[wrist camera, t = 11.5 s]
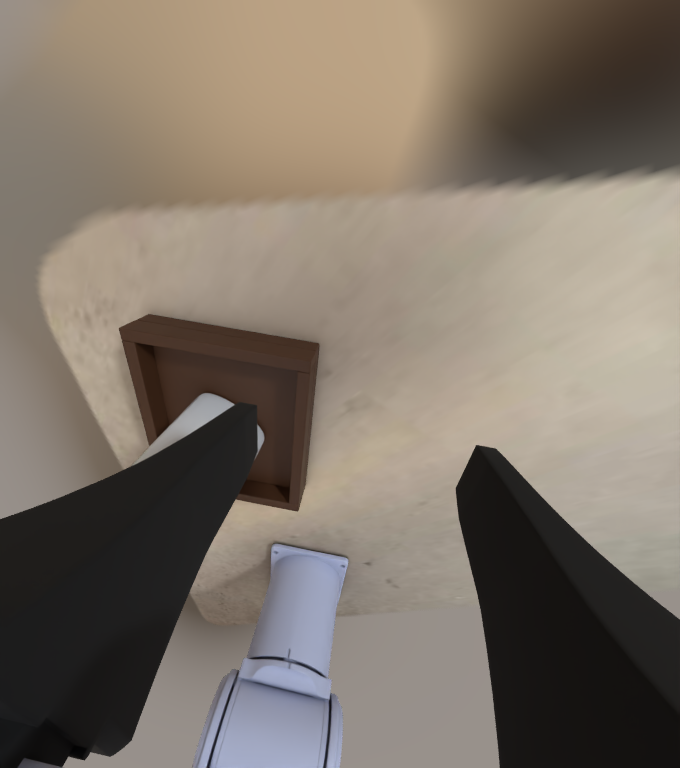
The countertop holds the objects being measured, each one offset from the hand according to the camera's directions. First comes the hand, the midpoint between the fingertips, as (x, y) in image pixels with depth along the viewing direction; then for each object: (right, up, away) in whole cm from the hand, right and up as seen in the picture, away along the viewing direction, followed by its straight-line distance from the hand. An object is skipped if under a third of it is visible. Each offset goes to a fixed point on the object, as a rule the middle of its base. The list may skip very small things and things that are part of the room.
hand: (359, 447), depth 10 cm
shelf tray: (-9, 0, +13) cm, 16 cm away
